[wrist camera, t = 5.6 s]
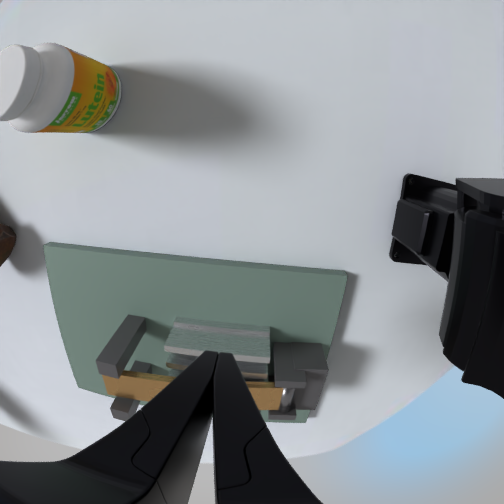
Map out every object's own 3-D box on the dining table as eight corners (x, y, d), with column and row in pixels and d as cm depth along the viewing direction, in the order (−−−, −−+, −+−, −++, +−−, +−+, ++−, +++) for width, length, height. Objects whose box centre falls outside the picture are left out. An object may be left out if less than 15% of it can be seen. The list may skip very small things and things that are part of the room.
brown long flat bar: (295, 377, 19) (297, 387, 18) (288, 403, 20) (290, 413, 19) (104, 362, 18) (99, 371, 17) (111, 389, 19) (107, 397, 18)
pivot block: (321, 343, 22) (331, 381, 18) (310, 383, 23) (316, 421, 19) (274, 340, 22) (276, 379, 18) (267, 381, 23) (268, 420, 19)
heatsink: (269, 326, 22) (270, 354, 18) (259, 391, 24) (259, 420, 21) (176, 316, 21) (163, 342, 18) (180, 382, 24) (171, 409, 21)
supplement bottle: (108, 140, 18) (14, 144, 9) (57, 125, 18) (-36, 127, 9) (134, 70, 17) (53, 30, 7) (80, 61, 16) (-6, 33, 7)
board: (344, 270, 21) (347, 276, 20) (304, 415, 26) (305, 422, 25) (50, 241, 21) (43, 245, 20) (82, 381, 26) (78, 387, 25)
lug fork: (145, 317, 22) (115, 365, 16) (152, 373, 24) (131, 422, 18) (128, 314, 22) (95, 360, 16) (136, 370, 24) (113, 417, 18)
